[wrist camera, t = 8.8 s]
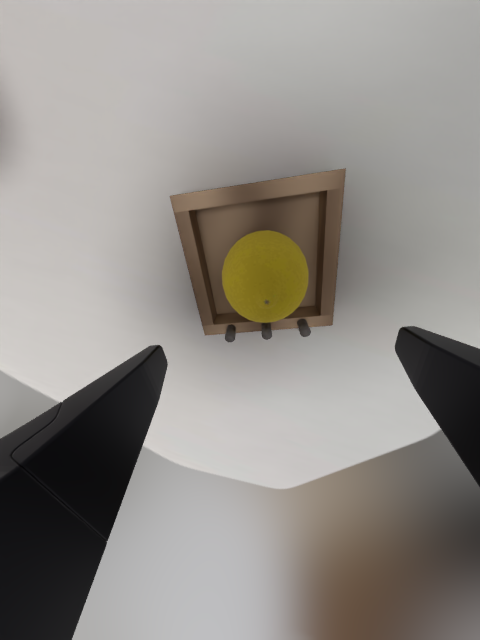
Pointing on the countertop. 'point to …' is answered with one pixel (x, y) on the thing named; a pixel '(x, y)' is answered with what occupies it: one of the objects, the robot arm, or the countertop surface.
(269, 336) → the tray
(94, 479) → the robot arm
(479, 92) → the countertop surface
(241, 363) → the countertop surface
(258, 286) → the lemon
